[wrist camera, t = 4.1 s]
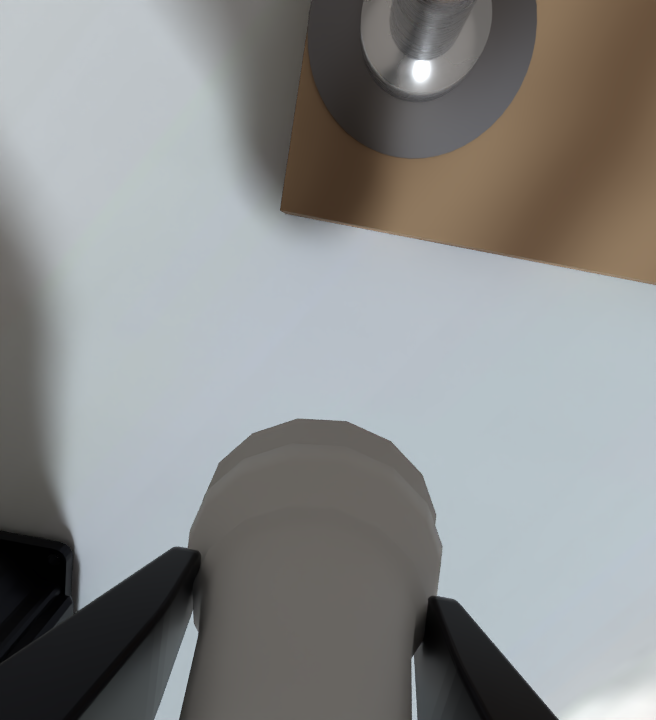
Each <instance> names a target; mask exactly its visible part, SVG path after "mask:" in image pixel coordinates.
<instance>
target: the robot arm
mask: <svg viewBox="0 0 656 720" xmlns="http://www.w3.org/2000/svg"><path fill="white" fill-rule="evenodd" d="M55 555H57V556H58V557H59V558H58V557H56V556H55ZM72 561H73V554H72V550H71V549H70V547H69V546H67V545H66V544H64V543H61V542H57V541H52V540H46V539H41V538H36V537H30V536H25V535H20V534H15V533H9V532H4V531H0V720H154V718H155V715H156V713H157V710H158V708H159V705H160V702H161V699H162V696H163V694H164V691H165V688H166V685H167V682H168V679H169V677H170V674H171V671H172V668H173V665H174V662H175V659H176V657H177V654H178V651H179V648H180V645H181V642H182V640H183V637H184V634H185V631H186V628H187V625H188V623H189V620H190V617H191V614H192V611H193V583H194V580H195V578H196V576H197V574H198V572H199V569H200V565H201V553H200V552H199V551H198V550H194V549H189V548H184V547H173V548H171V549H170V550H168V551H167V552H165V553H164V554H162V555H161V556H159V557H158V558H156V559H155V560H153V561H152V562H150V563H149V564H147V565H146V566H144V567H143V568H141V569H140V570H138V571H137V572H136V573H134V574H133V575H131V576H130V577H128V578H127V579H125V580H124V581H122V582H121V583H119V584H118V585H116V586H115V587H113V588H112V589H110V590H109V591H107V592H106V593H104V594H103V595H101V596H100V597H98V598H97V599H95V600H94V601H92V602H91V603H90V604H88V605H87V606H85V607H84V608H82V609H81V610H79V611H78V612H76V613H75V614H73V605H74V603H73V600H72V597H71V583H72ZM414 664H415V682H416V700H417V718H418V720H559V719H558V718H557V717H556V716H555V715H554V714H553V712H552V711H551V710H550V709H549V708H548V707H547V705H546V704H545V703H544V702H543V701H542V700H541V698H540V697H539V696H538V695H537V694H536V693H535V691H534V690H533V689H532V688H531V687H530V685H529V684H528V683H527V682H526V681H525V680H524V678H523V677H522V676H521V675H520V674H519V673H518V671H517V670H516V669H515V668H514V667H513V666H512V664H511V663H510V662H509V661H508V660H507V659H506V657H505V656H504V655H503V654H502V653H501V651H500V650H499V649H498V648H497V647H496V646H495V644H494V643H493V642H492V641H491V640H490V639H489V637H488V636H487V635H486V634H485V633H484V632H483V630H482V629H481V628H480V627H479V626H478V625H477V623H476V622H475V621H474V620H473V619H472V618H471V616H470V615H469V614H468V613H467V612H466V610H465V609H464V608H463V607H462V606H461V605H460V604H459V603H458V602H457V601H456V600H454V599H450V598H445V597H440V596H435V595H432V596H430V597H429V598H428V607H427V615H426V624H425V632H424V638H423V641H422V643H421V644H420V646H419V647H418V649H417V651H416V652H415V654H414Z"/></svg>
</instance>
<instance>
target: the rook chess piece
mask: <svg viewBox="0 0 656 720" xmlns="http://www.w3.org/2000/svg"><path fill="white" fill-rule="evenodd" d="M435 522H436V513H435V510H434V507H433V504H432V501H431V498H430V495H429V493H428V490H427V487H426V484H425V481H424V478H423V475H422V474H421V473H420V472H419V471H418V470H417V469H416V467H415V466H414V465H413V464H412V463H411V462H410V461H409V460H408V459H407V458H406V457H405V456H404V455H403V454H402V453H401V452H400V451H399V449H398V448H397V447H396V446H395V445H394V444H393V443H392V442H391V441H389V440H387V439H385V438H382V437H380V436H378V435H376V434H374V433H371V432H369V431H367V430H365V429H363V428H360V427H358V426H356V425H354V424H351V423H349V422H347V421H332V420H314V419H295V420H292V421H289V422H286V423H283V424H280V425H277V426H274V427H271V428H267V429H264V430H261V431H258V432H255V433H252V434H251V435H250V436H249V437H248V438H247V439H246V440H245V441H243V442H242V443H241V444H240V445H239V446H238V447H237V448H235V449H234V450H233V451H232V452H231V453H230V454H229V455H227V456H226V457H225V458H224V459H223V460H222V461H221V462H219V464H218V467H217V469H216V471H215V474H214V476H213V478H212V480H211V483H210V485H209V487H208V489H207V492H206V494H205V496H204V498H203V502H202V504H201V506H200V509H199V511H198V513H197V515H196V518H195V520H194V522H193V524H192V527H191V529H190V534H189V542H188V548H189V549H194V550H198V551H199V552H200V553H201V565H200V569H199V572H198V574H197V576H196V578H195V580H194V583H193V614H194V624H195V626H196V628H197V630H198V632H199V633H198V639H197V644H196V648H195V652H194V657H193V661H192V666H191V670H190V674H189V679H188V683H187V688H186V692H185V696H184V701H183V705H182V710H181V714H180V718H179V720H412V687H411V658H412V657H413V655H414V654H415V652H416V651H417V649H418V647H419V646H420V644H421V643H422V641H423V638H424V632H425V624H426V615H427V607H428V598H429V597H430V596H432V595H435V596H437V590H438V582H439V574H440V566H441V556H442V544H441V541H440V538H439V535H438V532H437V529H436V527H435Z"/></svg>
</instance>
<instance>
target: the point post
mask: <svg viewBox="0 0 656 720" xmlns="http://www.w3.org/2000/svg"><path fill="white" fill-rule="evenodd" d="M491 22H492V1H491V0H364V2H363V6H362V13H361V26H360V46H361V53H362V57H363V60H364V63H365V66H366V68H367V70H368V72H369V74H370V76H371V77H372V79H373V80H374V81H375V83H376V84H377V85H378V86H379V87H380V88H381V89H382V90H384V91H385V92H386V93H388V94H389V95H391V96H392V97H395V98H397V99H399V100H403V101H406V102H414V103H416V102H427V101H432V100H435V99H438V98H440V97H442V96H444V95H446V94H447V93H449V92H450V91H452V90H453V89H454V88H456V87H457V86H458V85H459V84H460V83H461V82H462V81H463V80H464V78H465V77H466V76H467V74H468V73H469V72H470V70H471V69H472V67H473V66H474V64H475V63H476V61H477V60H478V58H479V57H480V55H481V53H482V51H483V49H484V47H485V45H486V42H487V39H488V36H489V33H490V28H491Z"/></svg>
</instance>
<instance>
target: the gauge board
mask: <svg viewBox="0 0 656 720" xmlns="http://www.w3.org/2000/svg"><path fill="white" fill-rule="evenodd" d="M491 1H492V22H491V28H490V33H489V36H488V39H487V42H486V45H485V47H484V49H483V51H482V53H481V55H480V57H479V58H478V60H477V61H476V63H475V64H474V66H473V67H472V69H471V70H470V72H469V73H468V74H467V76H466V77H465V78H464V80H463V81H462V82H461V83H460V84H459V85H458V86H457V87H456V88H454V89H453V90H452V91H450V92H449V93H447V94H446V95H444V96H442V97H440V98H438V99H435V100H432V101H427V102H416V103H414V102H406V101H403V100H399V99H397V98H395V97H392V96H391V95H389V94H388V93H386V92H385V91H384V90H382V89H381V88H380V87H379V86H378V85H377V84H376V83H375V81H374V80H373V79H372V77H371V76H370V74H369V72H368V70H367V68H366V66H365V63H364V60H363V57H362V53H361V46H360V26H361V13H362V6H363V2H364V0H312V2H311V7H310V11H309V20H308V28H307V35H306V41H305V48H304V55H303V61H302V68H301V75H300V81H299V88H298V95H297V101H296V108H295V114H294V121H293V128H292V134H291V141H290V148H289V154H288V161H287V168H286V174H285V181H284V187H283V194H282V201H281V207H280V210H281V211H282V212H284V213H285V214H290V215H295V216H300V217H306V218H311V219H316V220H321V221H326V222H332V223H337V224H342V225H347V226H352V227H357V228H363V229H368V230H373V231H378V232H383V233H389V234H394V235H399V236H404V237H409V238H415V239H420V240H425V241H430V242H435V243H440V244H446V245H451V246H456V247H461V248H466V249H472V250H477V251H482V252H487V253H492V254H498V255H503V256H508V257H513V258H518V259H524V260H529V261H534V262H539V263H544V264H549V265H555V266H560V267H565V268H570V269H575V270H581V271H586V272H591V273H596V274H601V275H607V276H612V277H617V278H622V279H627V280H633V281H638V282H643V283H648V284H653V285H656V0H491Z"/></svg>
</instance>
